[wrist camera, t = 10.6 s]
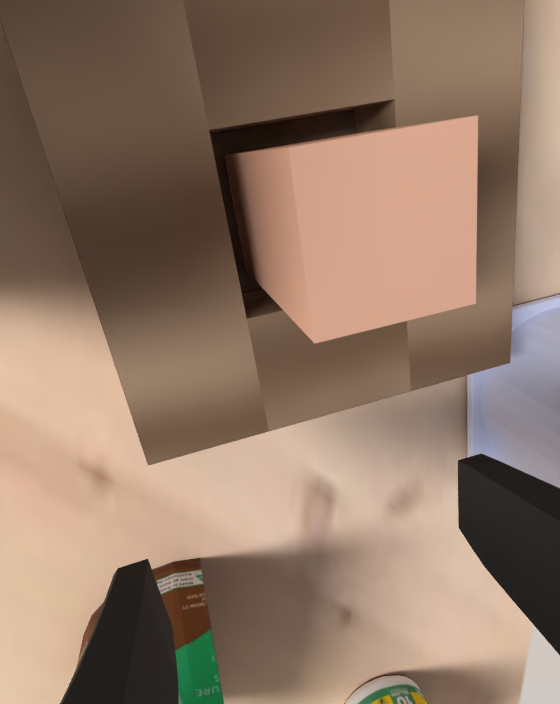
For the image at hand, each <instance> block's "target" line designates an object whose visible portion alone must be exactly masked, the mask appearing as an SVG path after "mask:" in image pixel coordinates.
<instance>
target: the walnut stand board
mask: <svg viewBox="0 0 560 704" xmlns="http://www.w3.org/2000/svg"><path fill="white" fill-rule="evenodd" d="M0 20H1V23H2V26H3V29H4V32H5V35H6V38H7V41H8V44H9V47H10V50H11V53H12V56H13V59H14V62H15V65H16V68H17V71H18V74H19V77H20V80H21V83H22V86H23V89H24V92H25V95H26V98H27V101H28V104H29V107H30V110H31V113H32V116H33V119H34V122H35V125H36V128H37V131H38V134H39V137H40V140H41V143H42V146H43V149H44V152H45V155H46V158H47V161H48V164H49V168H50V171H51V174H52V177H53V180H54V183H55V186H56V189H57V192H58V195H59V198H60V201H61V204H62V207H63V210H64V213H65V216H66V219H67V222H68V225H69V228H70V231H71V234H72V237H73V240H74V243H75V246H76V249H77V252H78V255H79V258H80V261H81V264H82V267H83V270H84V273H85V276H86V279H87V282H88V285H89V288H90V291H91V294H92V297H93V300H94V303H95V306H96V309H97V312H98V316H99V319H100V322H101V325H102V328H103V331H104V334H105V337H106V340H107V343H108V346H109V349H110V352H111V355H112V358H113V361H114V364H115V367H116V370H117V373H118V376H119V379H120V382H121V385H122V388H123V391H124V394H125V397H126V400H127V403H128V406H129V409H130V412H131V415H132V418H133V421H134V424H135V427H136V430H137V433H138V436H139V439H140V442H141V445H142V448H143V451H144V454H145V457H146V460H147V463H148V465H152V464H155V463H159V462H162V461H166V460H169V459H173V458H176V457H180V456H183V455H187V454H190V453H194V452H198V451H201V450H205V449H208V448H212V447H215V446H219V445H222V444H226V443H229V442H233V441H236V440H240V439H243V438H247V437H251V436H254V435H258V434H261V433H265V432H268V431H272V430H275V429H279V428H282V427H286V426H289V425H293V424H296V423H300V422H304V421H307V420H311V419H314V418H318V417H321V416H325V415H328V414H332V413H335V412H339V411H342V410H346V409H349V408H353V407H357V406H360V405H364V404H367V403H371V402H374V401H378V400H381V399H385V398H388V397H392V396H395V395H399V394H402V393H406V392H410V391H413V390H417V389H420V388H424V387H427V386H431V385H434V384H438V383H441V382H445V381H448V380H452V379H455V378H459V377H463V376H466V375H470V374H473V373H477V372H480V371H484V370H487V369H491V368H494V367H498V366H501V365H505V364H508V363H510V359H511V333H512V307H513V281H514V256H515V230H516V204H517V178H518V153H519V127H520V101H521V75H522V50H523V24H524V0H0ZM349 110H354V115H355V126H356V133H362V132H368V131H375V130H382V129H389V128H395V127H402V126H409V125H416V124H422V123H429V122H436V121H443V120H449V119H456V118H463V117H470V116H476V115H478V169H477V253H476V304H472V305H468V306H464V307H460V308H456V309H452V310H448V311H444V312H440V313H436V314H432V315H428V316H424V317H420V318H416V319H412V320H408V321H404V322H400V323H396V324H392V325H388V326H384V327H380V328H376V329H372V330H368V331H364V332H360V333H355V334H351V335H347V336H343V337H339V338H335V339H331V340H327V341H323V342H319V343H314V342H313V341H312V340H311V339H310V338H309V337H308V336H307V335H306V334H305V333H304V332H303V331H302V330H301V329H300V327H299V326H298V325H297V324H296V323H295V322H294V321H293V320H292V319H291V318H290V317H289V316H288V315H287V314H286V313H285V312H284V310H283V309H282V308H281V307H280V306H279V305H278V304H277V303H276V302H275V301H274V300H273V299H272V298H271V297H270V296H269V294H268V293H267V292H266V291H265V290H264V289H263V288H262V289H258V290H253V291H249V292H245V293H241V288H240V283H239V278H238V273H237V268H236V263H235V258H234V253H233V248H232V243H231V238H230V233H229V228H228V222H227V217H226V212H225V207H224V202H223V197H222V192H221V187H220V182H219V177H218V172H217V167H216V162H215V157H214V152H213V147H212V142H211V137H210V134H212V133H218V132H224V131H230V130H236V129H242V128H248V127H254V126H260V125H266V124H272V123H278V122H284V121H290V120H296V119H302V118H308V117H314V116H319V115H325V114H331V113H337V112H343V111H349Z"/></svg>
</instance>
